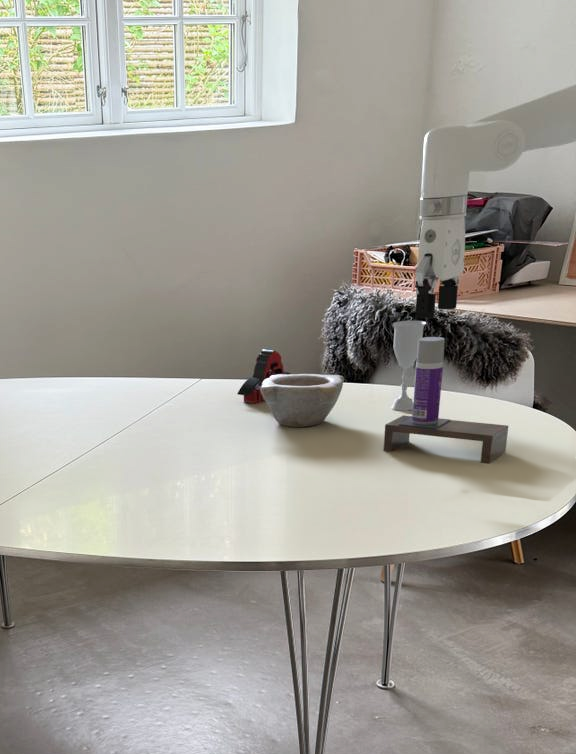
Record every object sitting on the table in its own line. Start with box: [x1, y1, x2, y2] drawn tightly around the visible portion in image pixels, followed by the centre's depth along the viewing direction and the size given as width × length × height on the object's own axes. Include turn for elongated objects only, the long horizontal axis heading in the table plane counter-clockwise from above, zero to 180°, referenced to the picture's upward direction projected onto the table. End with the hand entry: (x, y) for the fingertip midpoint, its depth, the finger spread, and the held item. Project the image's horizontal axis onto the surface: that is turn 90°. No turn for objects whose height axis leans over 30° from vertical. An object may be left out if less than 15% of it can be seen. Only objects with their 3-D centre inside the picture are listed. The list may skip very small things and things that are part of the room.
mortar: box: [261, 373, 345, 428], centre depth 203 cm, size 17×17×9 cm
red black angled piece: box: [236, 349, 291, 404], centre depth 226 cm, size 18×4×11 cm, turn 129°
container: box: [411, 336, 446, 425], centre depth 174 cm, size 5×5×15 cm
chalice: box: [390, 320, 427, 412], centre depth 206 cm, size 7×7×18 cm
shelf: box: [383, 414, 509, 464], centre depth 176 cm, size 20×8×5 cm, turn 50°
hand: (436, 313), depth 169 cm, fingers open, 9 cm apart
